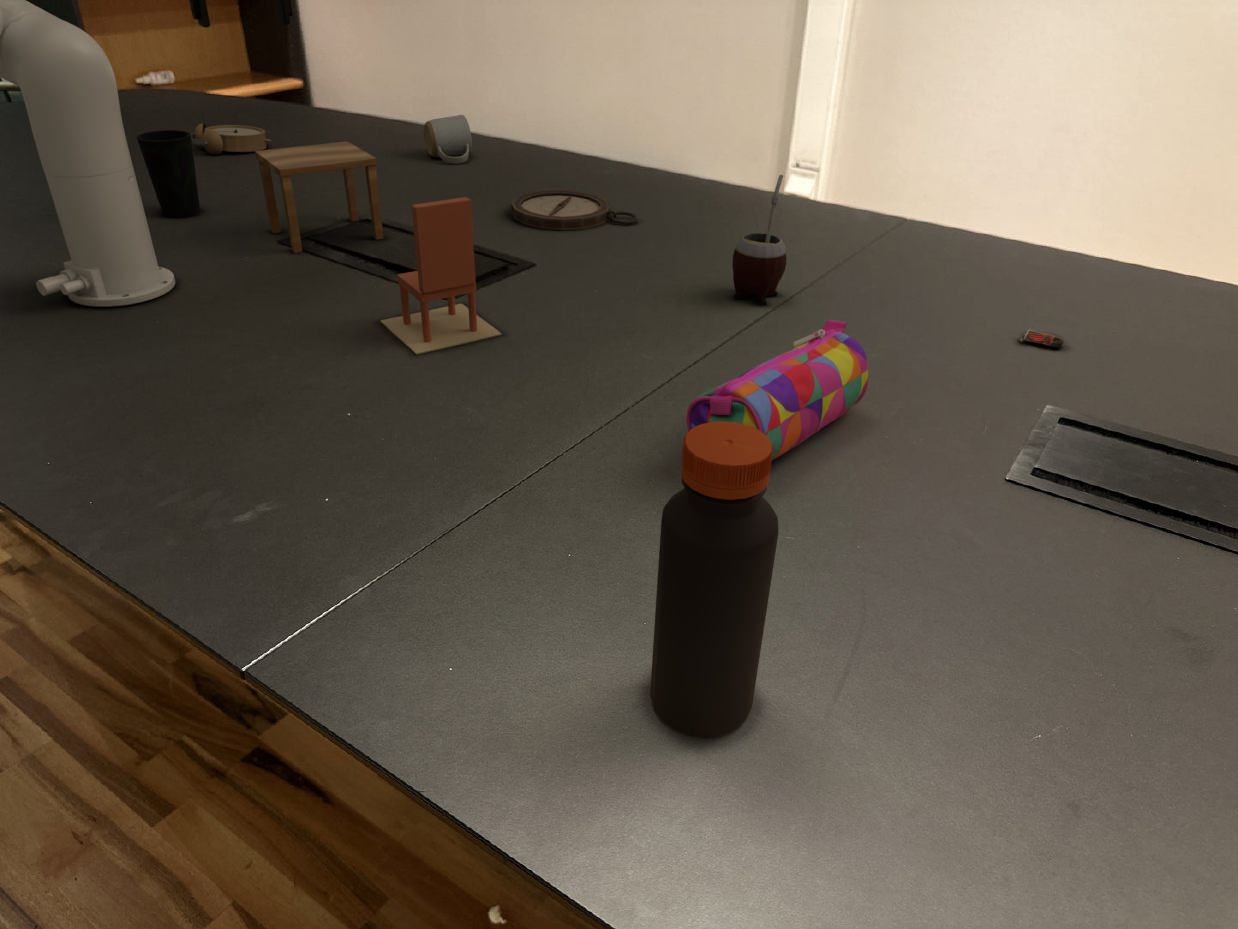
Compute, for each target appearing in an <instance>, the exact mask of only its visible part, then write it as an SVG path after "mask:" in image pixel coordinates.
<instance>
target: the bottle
mask: <svg viewBox="0 0 1238 929" xmlns="http://www.w3.org/2000/svg"><path fill="white" fill-rule="evenodd" d="M770 441H771V440H769V438H768V437H767V436H766V435H765V434H763V432H761V431H759V430H758V429H755V428H753V427H751V426H748V425H745V424H741V423H736V422H726V421H719V422H709V423H705V424H701V425H698V426H696V427H695V428H693V429H691V430H689V432H688V431H687V433H685V435H684V437H683V443H682V454H681V455H682V456H681V470H680V471H681V473H680V475H681V484H682V486H683V488H682V489H681V490H680V491H677V492H676V493H674V494H673V495H672V496H671V497H670V498H669V500H668V501H667V502H666V503H665V505H664V506H663V509H662V515H661V521H660V535H659V536H660V537H659V551H658V566H657V582H656V594H655V595H656V597H655V612H654V628H653V640H652V641H653V642H652V656H651V658H652V659H651V672H650V673H651V674H650V690H649V697H650V701H651V705H652V707H653V711H654V713H655V714H656V715H657V716H658V718H659V719H660V720H661V721H662V723H664V724H666V725H667V726H668V727H670V728H671V729H672V730H674V731H676V732H678V733H681V734H684V735H687V736H689V737H696V738H703V739H704V738H705V739H707V738H708V739H709V738H717V737H723V736H724V735H727V734H729V733H732V732H734V731H736V730H737V729H738V728H739V727H741V726H742V725H743V724H744V723H745V722H746V721H747V719H748V717H749V715H750V713H751V711H752V708H753V703H754V696H755V690H756V689H755V688H756V684H757V677H758V671H759V664H760V658H761V657H760V656H761V650H762V645H763V637H764V630H765V624H766V617H767V611H768V604H769V597H770V592H771V585H772V579H773V578H772V577H773V571H774V565H775V558H776V551H777V546H778V545H777V544H778V538H779V518H778V515H777V514H776V512H775V510H774V508H773V507H772V505H771V504H770V502H769V501H767V500H766V499H765V498H764V495H765V493H766V492H767V490H768V484H769V482H770V475H771V470H772V469H771V468H772V461H773V460H772V455H773V446H772V445H773V444H772V442H770Z"/></svg>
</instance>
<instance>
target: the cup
mask: <svg viewBox="0 0 1238 929" xmlns="http://www.w3.org/2000/svg"><path fill="white" fill-rule="evenodd" d="M191 134H192V133H190V132H189V131H185V130H179V129H176V130H175V129H160V130H153V131H145V132H142V133H140V134H137V136H136V140H137V143H138V146H139V149H140V152H141V154H142V158H143V161H144V163H145V164H144V165H145V166H146V169H147V172H148V176H149V177H150V178H149V179H150V181H151V183H152V187H153V190H154V192H155V195H156V198H157V201H158V204H159V207H160V209H161V213H162V215H163V216H164V217H166V218H171V219H172V218H175V219H182V218H190V217H194V216H196V215H198V214H200V213H201V206H200V198H199V189H198V181H197V174H196V167H195V164H196V163H195V159H194V158H195V157H194V148H193V144H192V139H191Z"/></svg>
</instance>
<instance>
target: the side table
mask: <svg viewBox="0 0 1238 929" xmlns="http://www.w3.org/2000/svg"><path fill="white" fill-rule="evenodd" d="M254 153H255V158H256V159H257V160H258V165H259V172H260V177H261V182H262V187H263V194H264V199H265V203H266V204H265V205H266V209H267V215H268V222H269V226H270V231H271V233H272V234H278V233H281V232H282V229H281V223H280V217H279V211H278V207H277V200H276V195H275V189H274V183H273V176H272V172H271V171H273V172H274V173H275V174H276V175H278V176H279V182H280V187H281V194H282V200H283V205H284V211H285V217H286V223H287V229H288V235H289V240H290V245H291V246H290V247H291V251H292V252H293V254H298V253H303V244H302V239H301V233H300V226H299V221H298V215H297V214H298V213H297V210H296V209H297V208H296V202H295V197H294V190H293V184H292V178H291V176H298V175H307V174H308V175H309V174H313V173H314V174H315V173H323V172H331V171H332V172H333V171H341V170H342V174H343V180H344V188H345V189H344V190H345V196H346V203H347V213H348V219H349V220H350V221H351V222H359V221H360V218H359V210H358V202H357V201H358V200H357V194H356V186H355V178H354V170H353V169H357V168H364V169H365V176H366V177H365V178H366V185H367V195H368V204H369V211H370V212H369V213H370V221H371V228H372V236H373V239H375V240H376V241H377V240H384V230H383V229H384V228H383V220H382V211H381V204H380V194H379V186H378V185H379V184H378V177H377V176H378V175H377V168H376V166H377V165H378V160H377V158H376V157H375V156H373V155H372V154H370V153H368V152H366V151H365V150H363V149H361V148H360V147H358V146H357V145H354V144H353V143H351V142H349V141H340V142H339V141H337V142H329V143H321V144H320V143H319V144H310V145H301V146H300V145H299V146H292V147H282V148H281V147H280V148H272V149H271V148H270V149H263V150H259V151H254Z"/></svg>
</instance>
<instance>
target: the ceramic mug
mask: <svg viewBox="0 0 1238 929" xmlns="http://www.w3.org/2000/svg"><path fill="white" fill-rule="evenodd" d="M423 138H424V144H425V149H426V150H427V153H428V155H429V156H431V157H432V158H438V159H441V160H442V161H444V163H445V162H446V163H448V164H452V165H458V164H464V163H465V162H466V161H468V159H469V156H471V154H472V150H473V140H472V138H473V137H472V132H471V128H470V125H469V122H468V120H467V117H466V116H465V115H464V114H458V115H452V116H446V117H439V118H432V119H430V120H426V122H424V124H423Z"/></svg>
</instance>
